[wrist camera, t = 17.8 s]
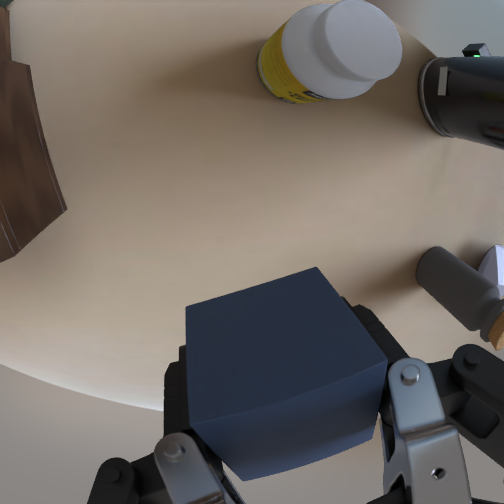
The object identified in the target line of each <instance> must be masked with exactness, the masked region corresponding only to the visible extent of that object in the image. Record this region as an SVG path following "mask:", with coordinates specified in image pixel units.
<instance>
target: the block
mask: <svg viewBox="0 0 504 504" xmlns="http://www.w3.org/2000/svg"><path fill="white" fill-rule="evenodd" d="M387 363H388V359H387V358H386V356H385V355H384V354H383V352H382V351H381V350H380V348H379V347H378V346H377V344H376V343H375V342H374V340H373V339H372V338H371V336H370V335H369V333H368V332H367V331H366V330H365V328H364V327H363V326H362V324H361V323H360V322H359V320H358V319H357V318H356V316H355V315H354V314H353V312H352V311H351V310H350V308H349V307H348V306H347V305H346V303H345V302H344V301H343V299H342V298H341V297H340V296H339V294H338V293H337V292H336V290H335V289H334V288H333V287H332V285H331V284H330V283H329V282H328V280H327V279H326V278H325V276H324V275H323V274H322V273H321V271H320V270H319V269H318V268H317V267H313V268H310V269H307V270H304V271H301V272H298V273H295V274H292V275H289V276H285V277H282V278H279V279H276V280H273V281H270V282H266V283H263V284H260V285H257V286H253V287H250V288H247V289H244V290H240V291H237V292H234V293H230V294H227V295H224V296H220V297H217V298H213V299H210V300H207V301H203V302H200V303H196V304H193V305H189V306H186V368H187V392H188V410H189V424H190V426H191V427H192V428H193V429H194V431H195V432H196V433H197V434H198V435H199V436H200V437H201V439H202V440H203V441H204V442H205V443H206V444H207V445H208V446H209V447H210V448H211V450H212V451H213V452H214V453H215V454H216V455H217V456H218V457H219V458H220V459H221V460H222V461H223V462H224V463H225V464H226V465H227V466H228V467H229V468H230V469H231V470H232V471H233V472H234V473H235V474H236V475H237V476H238V477H239V478H240V479H241V480H242V481H248V480H252V479H257V478H261V477H265V476H269V475H273V474H277V473H280V472H284V471H288V470H291V469H294V468H297V467H301V466H304V465H307V464H310V463H313V462H316V461H319V460H322V459H324V458H327V457H330V456H332V455H335V454H338V453H340V452H343V451H345V450H348V449H350V448H352V447H355V446H357V445H359V444H362V443H364V442H366V441H368V440H370V439H372V437H373V433H374V429H375V425H376V421H377V416H378V412H379V407H380V402H381V397H382V392H383V387H384V381H385V376H386V369H387Z"/></svg>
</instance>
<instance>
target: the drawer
mask: <svg viewBox="0 0 504 504" xmlns="http://www.w3.org/2000/svg"><path fill="white" fill-rule="evenodd" d="M12 1H13V0H0V59H4V60H9V61H12V59H11V47H10V26H9V10H7V9H4V7H5V6H6V5H8V4H9V3H11V2H12Z"/></svg>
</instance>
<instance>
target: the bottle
mask: <svg viewBox="0 0 504 504" xmlns="http://www.w3.org/2000/svg"><path fill="white" fill-rule="evenodd" d="M416 279H417V282H418V283H419V284H420V285H421V286H422V287H423V288H424V289H425V290H426V291H427V292H428V293H429V294H430V295H431V296H433V297H434V298H435V299H436V300H437V301H438V302H439V303H440V304H441V305H442V306H444V307H445V308H446V309H447V310H448V311H449V312H450V313H451V314H452V315H453V316H454V317H455V318H456V319H457V320H458V321H459V322H461V323H462V324H463V325H464V326H465V327H466V328H467V329H468V330H469V331H476V330H479V329H480V330H481V331H480V337H481V338H482V339H483V340H484V341H485V342H489V341H490V342H491V343H492V345H493V346H494V348H495V350H496V351H498V350H500V349H502V348H503V347H504V299H502V300H500V291H499V288H498V287H497V286H496V285H494V284H493V283H492V282H491V281H489V280H488V279H487V278H485V277H484V276H483V275H481V274H480V273H479V272H477V271H476V270H474V269H473V268H472V267H470V266H469V265H467V264H466V263H465V262H463V261H462V260H460V259H459V258H457V257H456V256H454V255H453V254H451V253H450V252H448V251H447V250H445V249H444V248H442V247H434V248H432V249H430V250H429V251H428V252H426V253H425V255H424V256H423V257H422V259H421V260H420V262H419V264H418V267H417V271H416Z"/></svg>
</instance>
